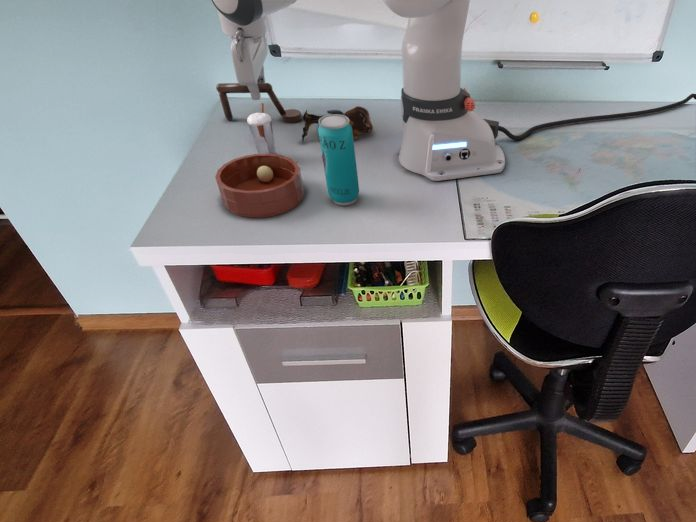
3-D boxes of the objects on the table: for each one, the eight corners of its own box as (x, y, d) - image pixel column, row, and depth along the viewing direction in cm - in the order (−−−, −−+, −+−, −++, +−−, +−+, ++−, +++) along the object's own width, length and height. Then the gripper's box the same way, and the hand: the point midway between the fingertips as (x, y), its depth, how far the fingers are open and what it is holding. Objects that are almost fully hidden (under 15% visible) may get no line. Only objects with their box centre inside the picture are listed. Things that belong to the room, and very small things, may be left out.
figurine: (374, 141, 119) (371, 113, 115) (302, 143, 117) (297, 115, 113) (373, 126, 124) (370, 99, 120) (304, 128, 122) (299, 101, 118)
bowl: (306, 176, 107) (302, 152, 104) (301, 216, 97) (295, 191, 94) (230, 178, 106) (223, 154, 102) (216, 219, 96) (208, 194, 92)
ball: (275, 177, 105) (272, 162, 103) (273, 184, 103) (270, 170, 101) (259, 177, 105) (256, 163, 103) (257, 185, 103) (254, 170, 101)
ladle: (302, 114, 127) (296, 79, 122) (301, 122, 124) (294, 86, 119) (227, 116, 125) (216, 79, 120) (223, 124, 122) (213, 87, 117)
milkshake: (284, 152, 114) (273, 104, 107) (275, 164, 110) (264, 115, 103) (263, 150, 114) (251, 102, 107) (253, 162, 110) (240, 113, 103)
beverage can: (330, 191, 104) (318, 113, 93) (361, 191, 104) (352, 113, 93) (328, 207, 100) (314, 127, 89) (359, 207, 100) (349, 127, 89)
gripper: (251, 37, 104) (268, 110, 114) (265, 8, 118) (278, 75, 128) (217, 37, 103) (237, 110, 113) (235, 8, 117) (251, 75, 127)
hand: (259, 91), depth 120 cm, fingers open, 7 cm apart
